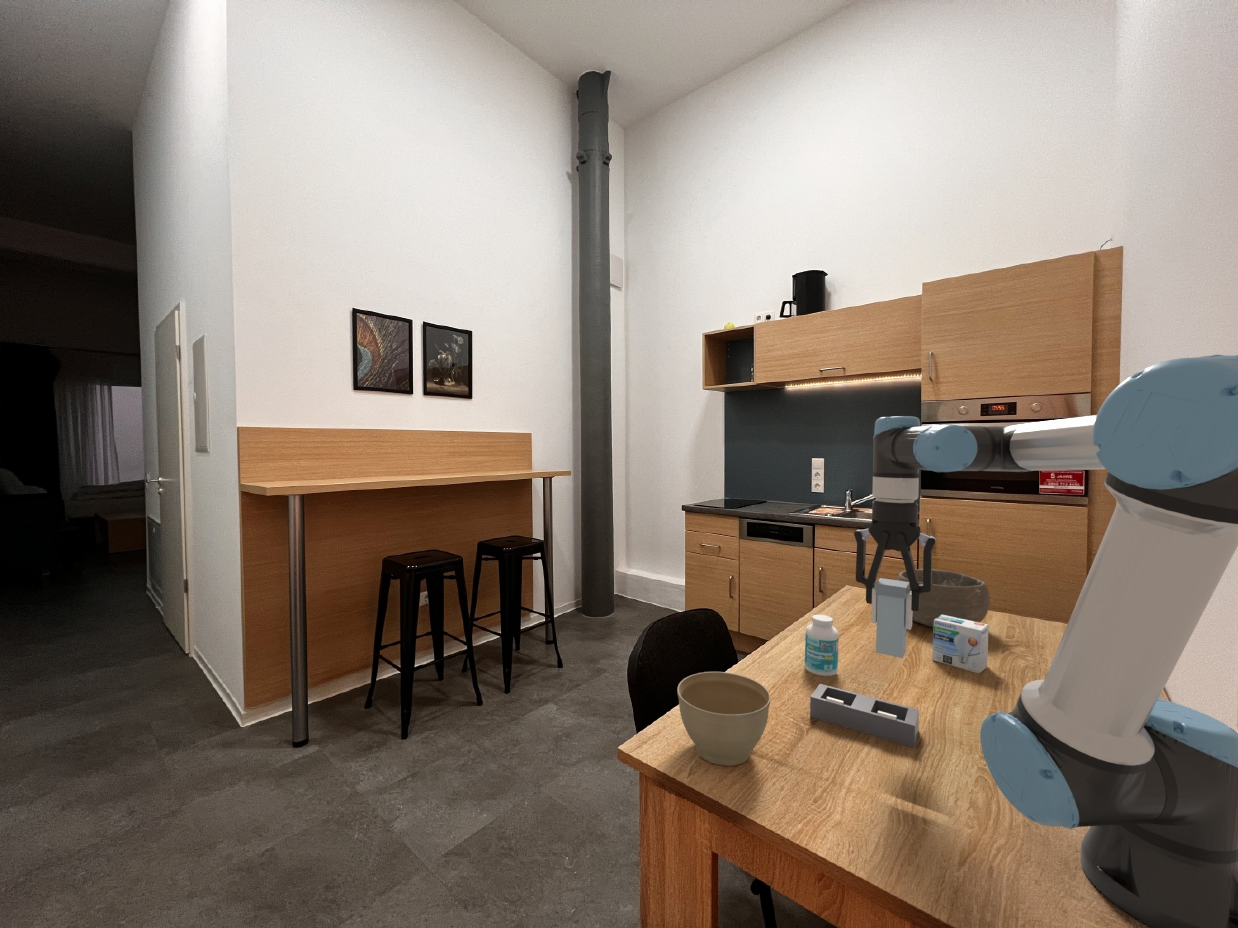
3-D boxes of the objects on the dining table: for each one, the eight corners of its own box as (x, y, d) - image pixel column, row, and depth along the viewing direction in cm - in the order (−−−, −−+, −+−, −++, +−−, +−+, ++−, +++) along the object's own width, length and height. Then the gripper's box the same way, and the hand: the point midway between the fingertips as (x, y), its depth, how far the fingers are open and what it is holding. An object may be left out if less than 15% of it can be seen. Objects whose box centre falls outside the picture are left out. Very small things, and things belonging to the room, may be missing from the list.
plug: (904, 659, 93) (906, 587, 93) (873, 652, 96) (875, 583, 96) (907, 650, 97) (909, 582, 97) (878, 644, 100) (880, 577, 100)
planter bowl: (705, 717, 103) (705, 663, 103) (783, 747, 93) (784, 688, 93) (658, 753, 91) (659, 692, 90) (743, 793, 81) (745, 725, 80)
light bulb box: (931, 660, 132) (932, 618, 132) (939, 653, 137) (941, 613, 137) (980, 674, 124) (982, 630, 124) (988, 666, 129) (989, 624, 129)
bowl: (913, 607, 176) (914, 564, 176) (999, 627, 158) (1000, 578, 157) (882, 622, 161) (883, 575, 161) (972, 646, 142) (974, 592, 142)
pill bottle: (802, 675, 123) (803, 619, 122) (806, 664, 129) (807, 610, 129) (836, 682, 119) (837, 624, 119) (839, 670, 126) (840, 615, 125)
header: (914, 753, 92) (915, 722, 91) (809, 721, 102) (810, 693, 102) (918, 735, 97) (919, 706, 97) (819, 707, 108) (819, 680, 107)
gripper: (953, 501, 93) (949, 628, 94) (847, 495, 104) (844, 609, 105) (951, 505, 87) (947, 640, 88) (838, 498, 98) (835, 619, 99)
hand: (891, 623), depth 96 cm, fingers closed on plug, 5 cm apart
